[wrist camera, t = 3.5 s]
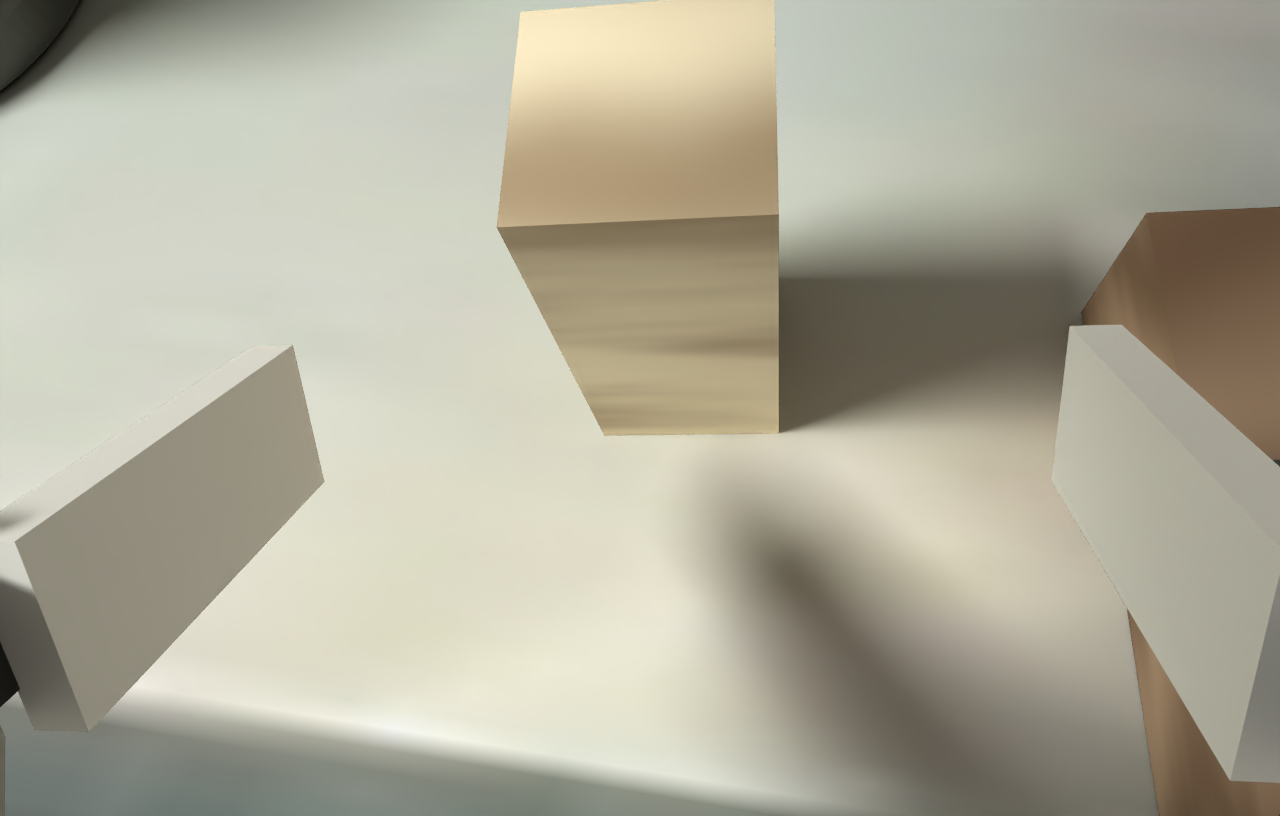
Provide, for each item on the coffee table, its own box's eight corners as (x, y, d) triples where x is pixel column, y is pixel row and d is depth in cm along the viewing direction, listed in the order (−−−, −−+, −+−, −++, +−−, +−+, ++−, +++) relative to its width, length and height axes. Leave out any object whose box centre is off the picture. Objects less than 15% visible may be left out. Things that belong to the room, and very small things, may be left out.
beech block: (612, 283, 28) (520, 11, 18) (775, 277, 28) (773, -9, 18) (604, 435, 27) (496, 227, 16) (778, 433, 26) (778, 214, 16)
